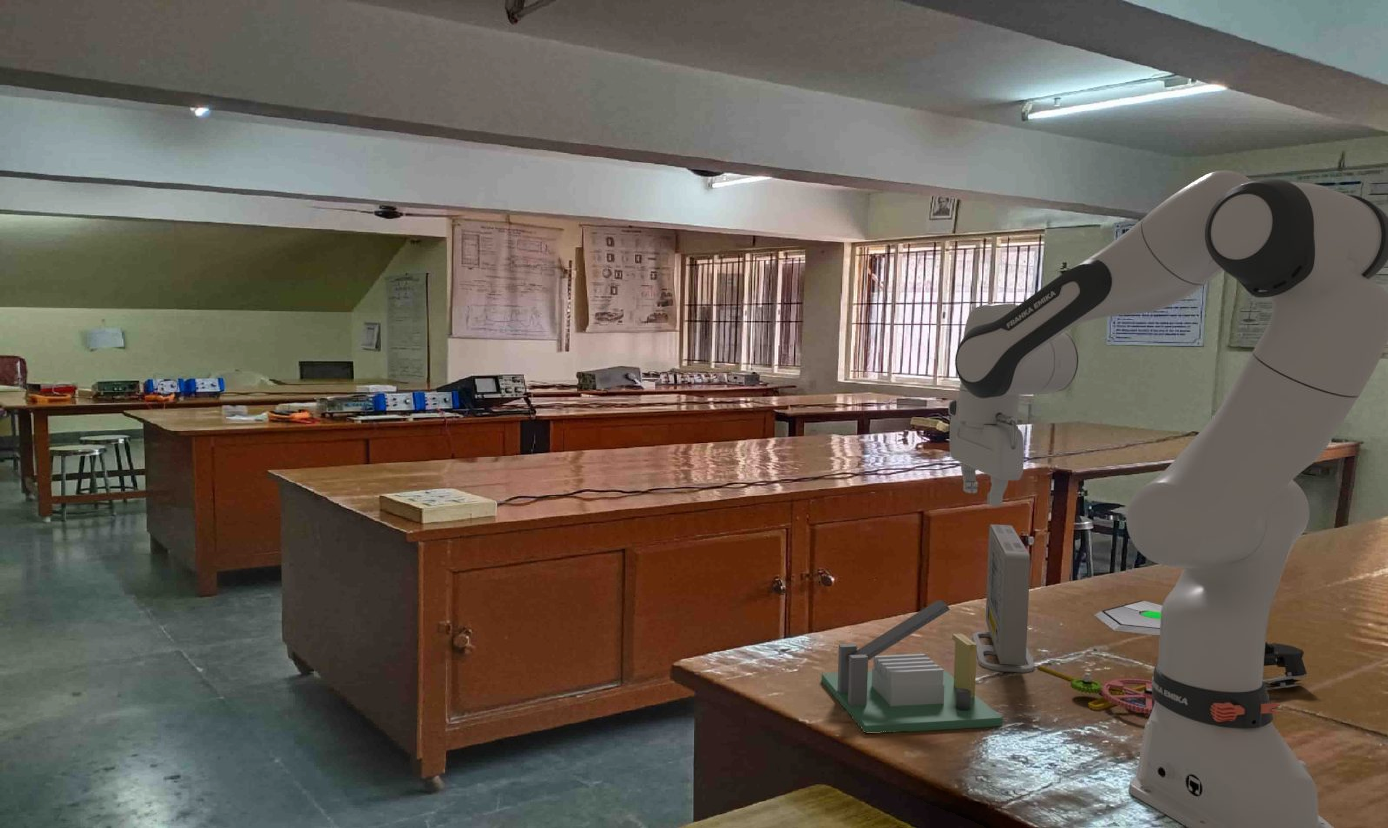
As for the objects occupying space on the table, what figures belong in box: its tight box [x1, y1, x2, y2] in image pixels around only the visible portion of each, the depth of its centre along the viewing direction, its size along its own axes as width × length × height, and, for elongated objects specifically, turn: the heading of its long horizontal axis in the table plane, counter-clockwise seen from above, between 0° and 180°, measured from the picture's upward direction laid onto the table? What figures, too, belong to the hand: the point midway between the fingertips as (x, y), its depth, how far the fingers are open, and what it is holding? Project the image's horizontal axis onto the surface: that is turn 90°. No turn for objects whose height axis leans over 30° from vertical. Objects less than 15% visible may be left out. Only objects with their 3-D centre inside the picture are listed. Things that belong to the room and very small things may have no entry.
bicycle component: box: [1262, 641, 1308, 691], centre depth 152 cm, size 12×7×15 cm
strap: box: [846, 599, 951, 662], centre depth 141 cm, size 3×16×1 cm
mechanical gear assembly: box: [1037, 665, 1155, 715], centre depth 145 cm, size 30×4×15 cm
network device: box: [972, 524, 1036, 673], centre depth 164 cm, size 26×9×20 cm, turn 168°
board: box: [821, 633, 1003, 733], centre depth 142 cm, size 20×20×9 cm
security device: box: [1094, 599, 1163, 636], centre depth 184 cm, size 17×22×2 cm
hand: (981, 498), depth 149 cm, fingers open, 8 cm apart
